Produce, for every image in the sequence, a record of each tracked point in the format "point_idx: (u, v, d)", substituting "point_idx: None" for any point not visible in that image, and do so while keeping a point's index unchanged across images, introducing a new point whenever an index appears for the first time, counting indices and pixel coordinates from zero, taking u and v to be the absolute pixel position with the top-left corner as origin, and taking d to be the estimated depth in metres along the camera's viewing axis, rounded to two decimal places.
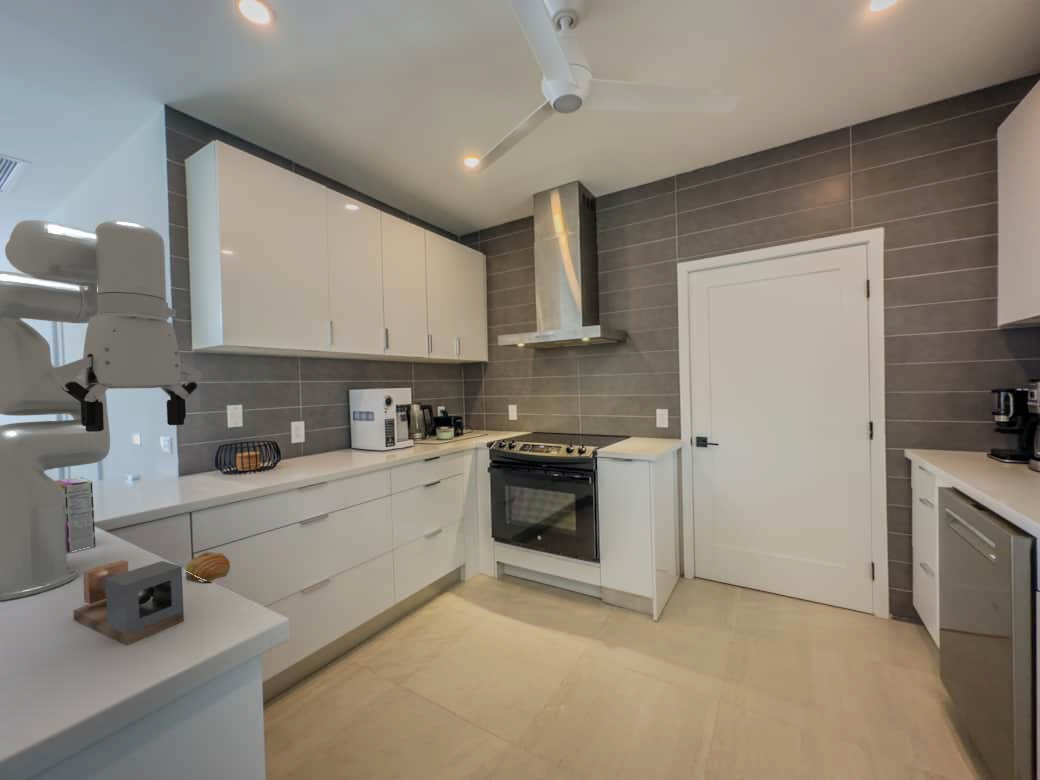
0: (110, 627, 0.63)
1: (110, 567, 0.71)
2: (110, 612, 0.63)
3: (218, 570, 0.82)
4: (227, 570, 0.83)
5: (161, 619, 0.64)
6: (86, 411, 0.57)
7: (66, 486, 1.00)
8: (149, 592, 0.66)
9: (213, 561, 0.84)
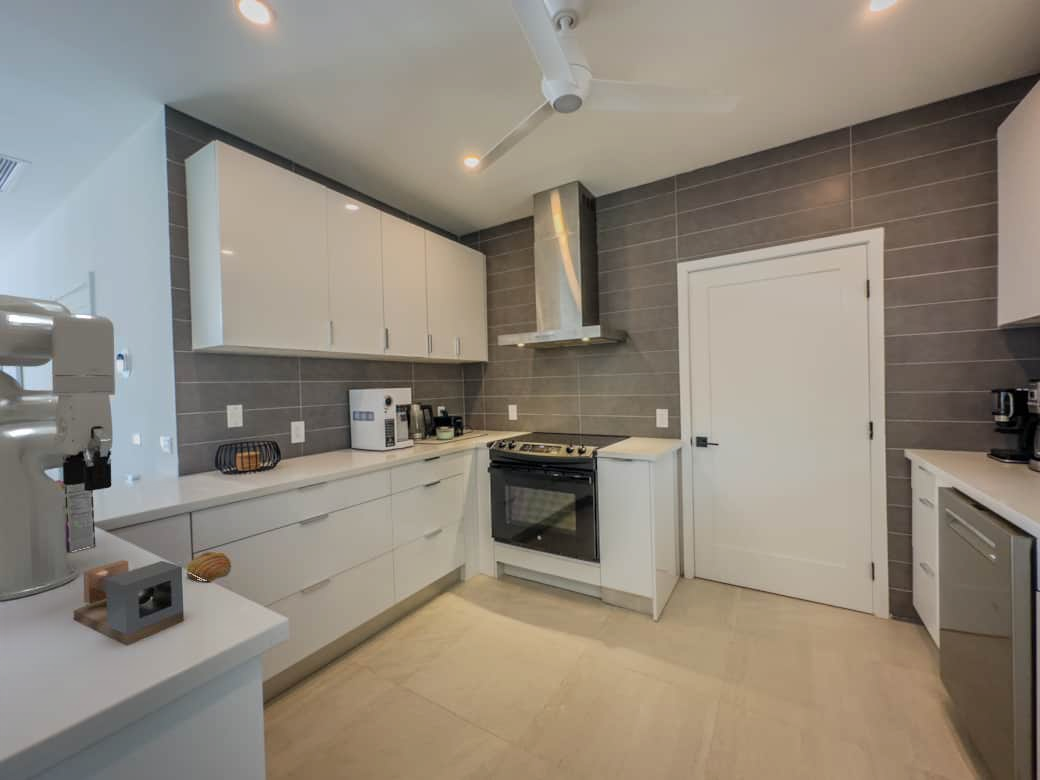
0: (110, 627, 0.63)
1: (110, 567, 0.71)
2: (110, 612, 0.63)
3: (220, 570, 0.82)
4: (228, 570, 0.83)
5: (161, 619, 0.64)
6: (105, 472, 0.71)
7: (66, 486, 1.00)
8: (149, 592, 0.66)
9: (214, 560, 0.84)
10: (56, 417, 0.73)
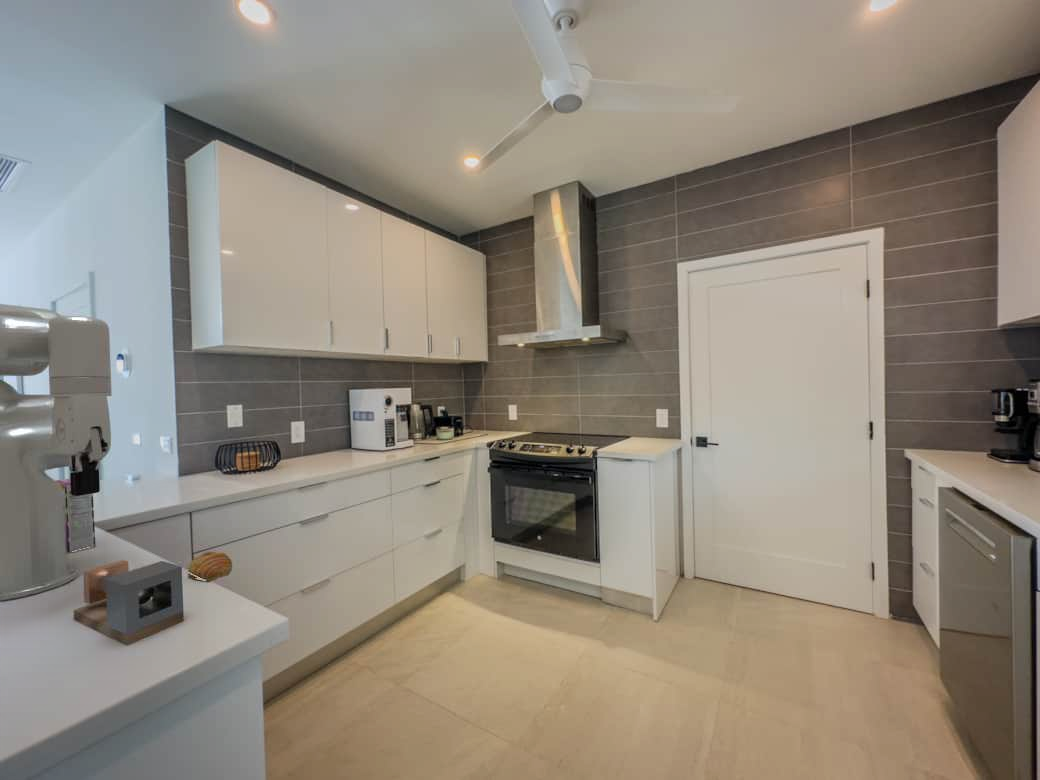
0: (110, 627, 0.63)
1: (110, 567, 0.71)
2: (110, 612, 0.63)
3: (221, 569, 0.82)
4: (230, 569, 0.84)
5: (161, 619, 0.64)
6: (94, 477, 0.74)
7: (66, 486, 1.00)
8: (149, 592, 0.66)
9: (216, 560, 0.84)
10: (52, 419, 0.73)
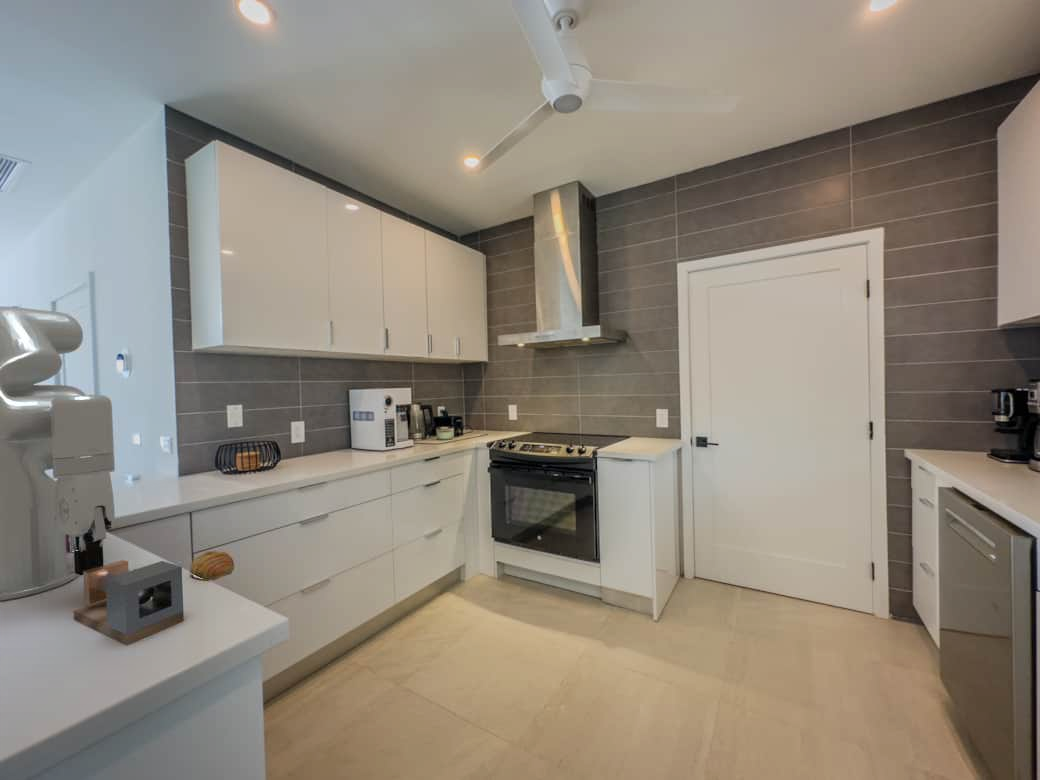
0: (110, 627, 0.63)
1: (110, 567, 0.71)
2: (110, 612, 0.63)
3: (224, 568, 0.83)
4: (232, 568, 0.84)
5: (161, 619, 0.64)
6: (98, 555, 0.74)
7: None
8: (149, 592, 0.66)
9: (218, 559, 0.85)
10: (56, 498, 0.73)
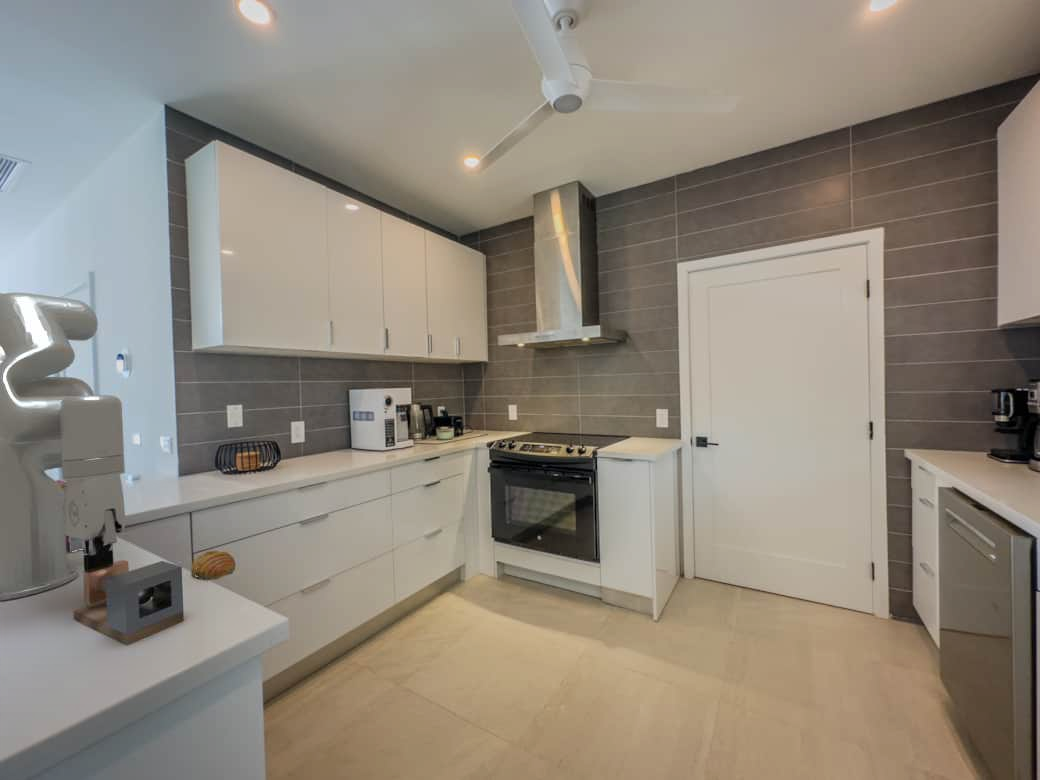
0: (110, 627, 0.63)
1: (110, 567, 0.71)
2: (110, 612, 0.63)
3: (225, 567, 0.83)
4: (233, 568, 0.84)
5: (161, 619, 0.64)
6: (108, 559, 0.72)
7: None
8: (149, 592, 0.66)
9: (219, 559, 0.85)
10: (65, 500, 0.72)
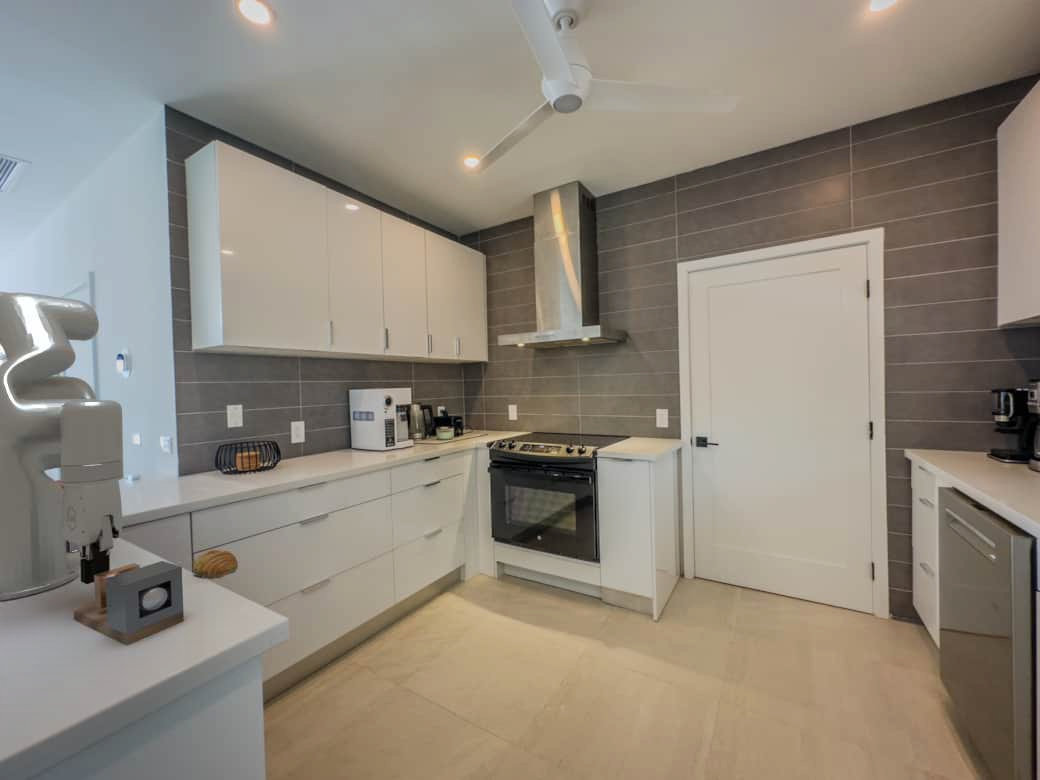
0: (110, 627, 0.63)
1: (121, 571, 0.69)
2: (110, 612, 0.63)
3: (228, 566, 0.84)
4: (236, 566, 0.85)
5: (161, 619, 0.64)
6: (104, 563, 0.73)
7: None
8: (162, 597, 0.65)
9: (221, 558, 0.85)
10: (63, 504, 0.72)
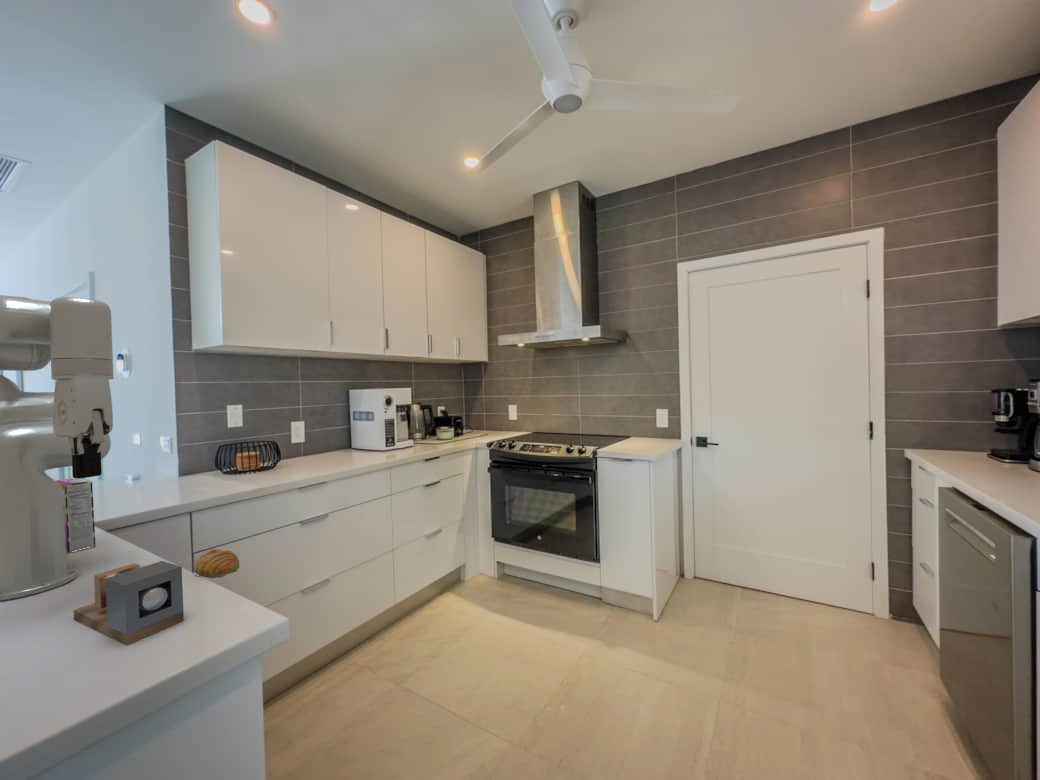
0: (110, 627, 0.63)
1: (121, 571, 0.69)
2: (110, 612, 0.63)
3: (230, 566, 0.84)
4: (238, 566, 0.85)
5: (161, 619, 0.64)
6: (96, 460, 0.74)
7: (66, 486, 1.00)
8: (162, 597, 0.65)
9: (223, 557, 0.86)
10: (54, 401, 0.73)
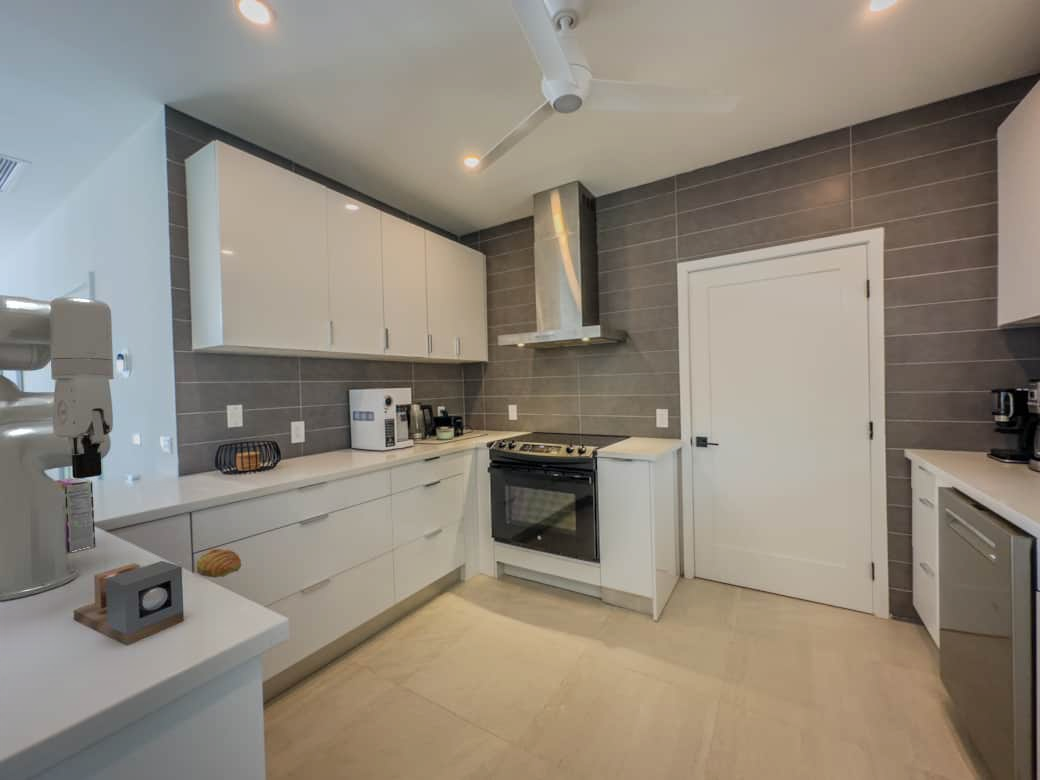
0: (110, 627, 0.63)
1: (121, 571, 0.69)
2: (110, 612, 0.63)
3: (232, 565, 0.84)
4: (240, 565, 0.86)
5: (161, 619, 0.64)
6: (96, 460, 0.74)
7: (66, 486, 1.00)
8: (162, 597, 0.65)
9: (225, 556, 0.86)
10: (54, 401, 0.73)
